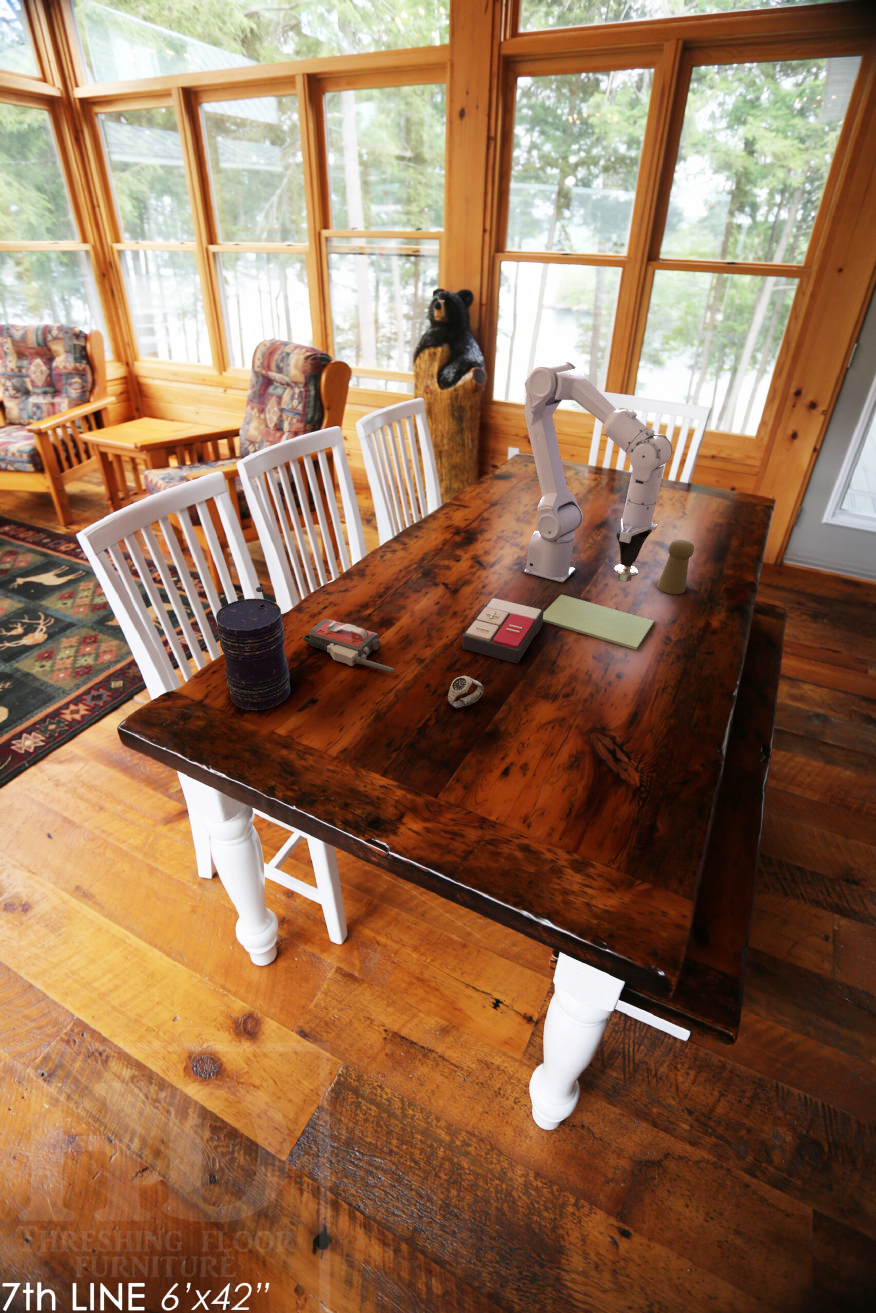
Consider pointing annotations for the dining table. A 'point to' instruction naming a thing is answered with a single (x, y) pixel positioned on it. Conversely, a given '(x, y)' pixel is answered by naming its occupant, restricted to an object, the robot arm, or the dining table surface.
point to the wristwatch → (464, 691)
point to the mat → (598, 621)
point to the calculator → (503, 630)
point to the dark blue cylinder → (254, 652)
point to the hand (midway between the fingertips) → (627, 563)
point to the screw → (625, 572)
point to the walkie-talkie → (346, 643)
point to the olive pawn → (676, 567)
